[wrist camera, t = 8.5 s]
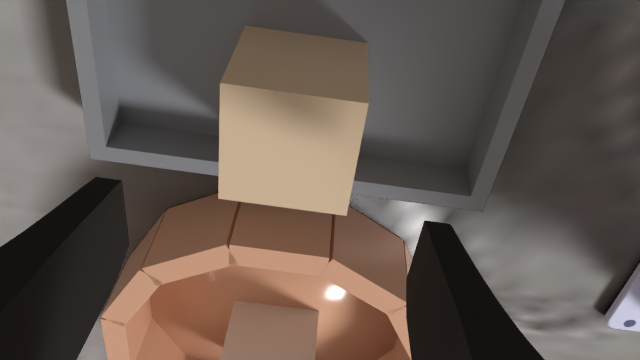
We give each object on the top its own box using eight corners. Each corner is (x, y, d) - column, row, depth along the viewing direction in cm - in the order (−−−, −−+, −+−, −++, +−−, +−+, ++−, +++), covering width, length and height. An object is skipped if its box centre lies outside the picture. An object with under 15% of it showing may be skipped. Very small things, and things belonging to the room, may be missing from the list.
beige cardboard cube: (368, 42, 18) (369, 103, 15) (349, 145, 21) (346, 215, 17) (245, 25, 18) (219, 82, 15) (240, 130, 21) (218, 198, 17)
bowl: (459, 213, 23) (472, 276, 20) (391, 401, 31) (394, 464, 29) (118, 167, 23) (83, 225, 20) (142, 370, 31) (120, 430, 28)
